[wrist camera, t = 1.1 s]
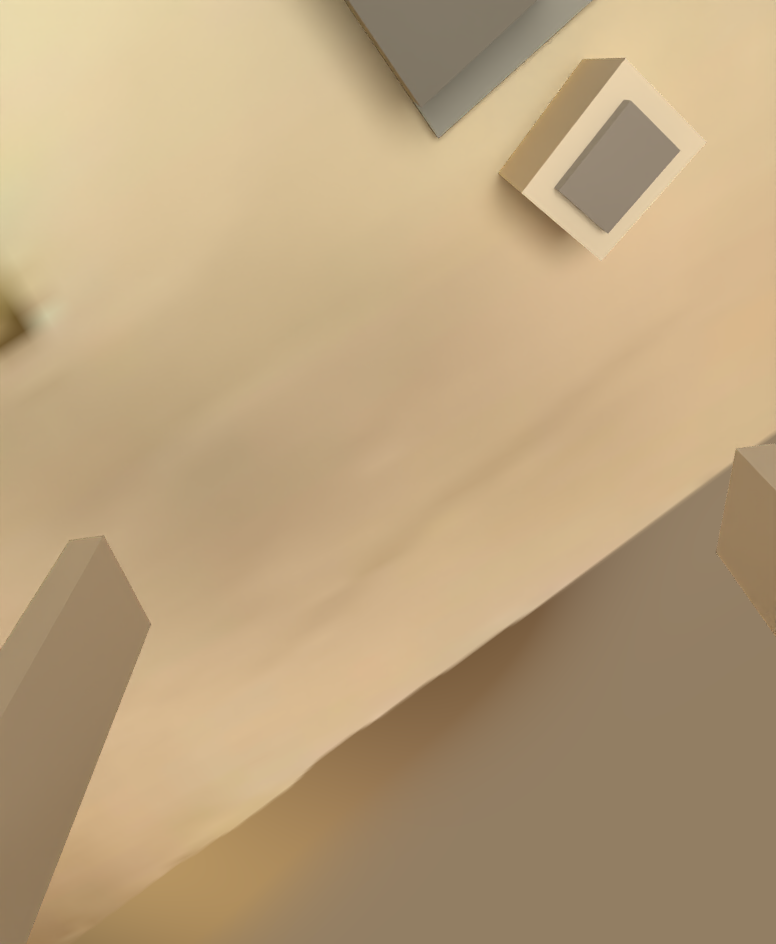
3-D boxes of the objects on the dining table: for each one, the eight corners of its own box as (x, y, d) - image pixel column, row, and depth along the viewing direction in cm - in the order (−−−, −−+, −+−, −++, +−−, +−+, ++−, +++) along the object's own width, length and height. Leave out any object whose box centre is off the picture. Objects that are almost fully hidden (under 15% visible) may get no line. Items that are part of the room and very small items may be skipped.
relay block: (498, 173, 32) (525, 196, 26) (582, 59, 29) (633, 57, 23) (566, 232, 33) (606, 266, 28) (652, 129, 31) (716, 144, 25)
